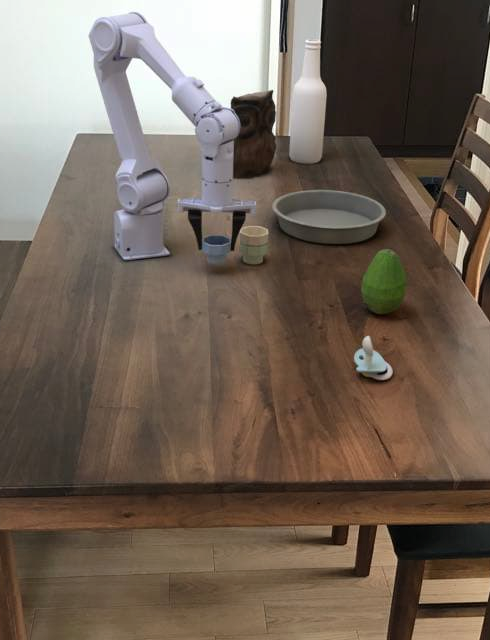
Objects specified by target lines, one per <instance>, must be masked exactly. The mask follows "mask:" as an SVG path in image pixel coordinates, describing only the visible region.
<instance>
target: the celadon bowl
mask: <svg viewBox="0 0 490 640" xmlns="http://www.w3.org/2000/svg"><path fill="white" fill-rule="evenodd" d="M268 244H269V241H268V242H267V243H266V244H264V245H262V246H247V245H245V244H243V243H241V242H240V241H239V245H238V246H239V249H238V251H239V253H240V254H241V255H242V261H243V262H244V263H245V264H248V265H259V264H262V263H263V262H264V256H265V255H267V253H268V249H269V248H268V247H269V245H268Z"/></svg>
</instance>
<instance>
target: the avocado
mask: <svg viewBox="0 0 490 640" xmlns="http://www.w3.org/2000/svg"><path fill="white" fill-rule="evenodd" d="M405 271H406V270H405V268H404V266H403V262H402V260H401V257H400V255H398V254H397V252H395V251H394V250H392V249H389V248H383V249H381V250H379V251H378V252H377V253H376V254H375V255H374V257H373V258H372V260H371V262H370V263H369V265H368V266H367V268H366V271H365V273H364V275H363V277H362V281H361V286H360V292H361V297H362V300H363V303H364V305H365V306H366V308H367V309H368V310H369V311H370V312H372V313H374V314H376V315H386V314H389V313H392V312H394V311H395V310H396V309H397V308H399V307H400V306H401V304H402V303H403V301H404V298H405V297H406V294H407V287H408V280H407V276H406V272H405Z"/></svg>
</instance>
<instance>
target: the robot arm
mask: <svg viewBox="0 0 490 640" xmlns="http://www.w3.org/2000/svg"><path fill="white" fill-rule="evenodd" d="M88 39H89V43H90V46H91V50H92V53H93V69H94V73H95V77H96V79H97V84H98V87H99V91H100V93H101V97H102V100H103V103H104V107H105V110H106V114H107V117H108V121H109V125H110V127H111V131H112V134H113V137H114V142H115V144H116V148H117V151H118V154H119V159H120V162H121V163H120V166H119V168H118V170H117V172H116V173H115V181H116V187H117V188H116V196H117V201H118V202H119V204H120V206H121V207H122V208H123V209H120V210H116V211H114V212H113V213H114V214H113V229H114V230H113V231H114V246H113V247H114V249H115V250H116V252H118V254H119V255H120V257H121V258H122V260H124V261H131V260H141V259H148V258H157V257H166V256H170V254H171V253H170V251H169V250H168V249H167V248H166V246H165V245H164V215H163V214H164V213H163V212H164V211H163V210H164V209H163V207H164V206H165V200H166V199H168V197H170V196H169V195H170V193H171V184H170V180H169V179H168V177H167V175H166V174H165V173H164V171H163V169H162V166H161V162H160V161H158V160H157V159H156V158H154V157H153V156H151V155H150V152H149V149H148V145H147V141H146V138H145V135H144V132H143V128H142V125H141V121H140V118H139V114H138V111H137V107H136V104H135V100H134V97H133V96H134V95H133V92H132V89H131V86H130V81H129V79H128V75H127V69H128V68H129V65H130V64H131V62H132V60H133V59H136V60H141V61H142V62H143V63H144V64H145V65H146V66H147V67H148V68H149V69H150V70H151V71H152V72H153V73H154V74H155V75H156V76H157V77H158V78H159V79H160V80H161V81H162V82H163V83H164V84H165V85H166V86H167V87H168V88H169V89H170V90H171V101H172V102H173V103H174V104H175V105H176V106H177V108H178V109H179V110H180V111H181V112H182V113H183V114H184V116H185V117H186V118H187V119H188V120H189V122H190V123H191V124H192V125H193V126H194V134H195V137H196V139H197V141H198V143H199V147H200V152H201V197H195V198H194V197H192V198H178V199H177V213H184V212H187V219H188V222H189V224H190V225H191V228H192V230H193V232H194V235H195V239H196V243H197V249H198V251H202V238H203V212H204V213H225V214H226V213H228V214H229V213H230V214H232V219H231V220H232V223H231V237H230V238H231V252H235V250H236V249H235V248H236V244H237V240H238V237H239V235H240V230H241V228H243V227H244V226H243V225H244V224H245V222H246V220H247V214H249V215H251V216H252V215H256V214H257V201H256V200H255V201H254V200H244V199H238V198H233V192H234V191H233V190H234V187H233V185H234V178H233V154H234V140H233V139H235V138H236V137H237V136H238V135H239V132H240V121H239V118H238V116H237V115H236V113H235V111H234V110H233V109H231V107H227V106H223V105H222V103H220V102H219V101H217V100H216V99H215V98H214V97H213V96H212V94H211V93H210V92H209V91H208V90H207V89H206V88H205V83H204V82H203V81H202V80H201V79H197V78H196V76H186V75H185V74H184V71H182V70H181V68H180V67H179V65H178V64H177V63H176V61H175V60H174V59H173V57H171V55H170V54H169V52H168V51H167V50H166V49H165V47H164V46H163V45H162V43H161V42H160V40H159V39H158V38H157V36H156V33H155V28H154V25H152V24H151V23H150V22H148V20H147V19H146V17H145V15H143V14H141V12H137V11H130V12H128V13H124V14H117V15H112V16H101V17H98V18H97V19H96V20H95V21H94V22H93V25H92V27H91V29H90V31H89V33H88ZM232 140H233V141H232Z"/></svg>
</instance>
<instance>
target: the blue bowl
mask: <svg viewBox="0 0 490 640" xmlns="http://www.w3.org/2000/svg"><path fill="white" fill-rule="evenodd" d="M201 252H202V253H204V254H205V261H206V262H207V263H209V264H213V265H221V264H225V263H226V262H227V261H228V260H227V259H228V255H229V254H230V253H231V252H232V251H231V237H229V236H226V235H223V234H210V235H206V236H202V250H201Z"/></svg>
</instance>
